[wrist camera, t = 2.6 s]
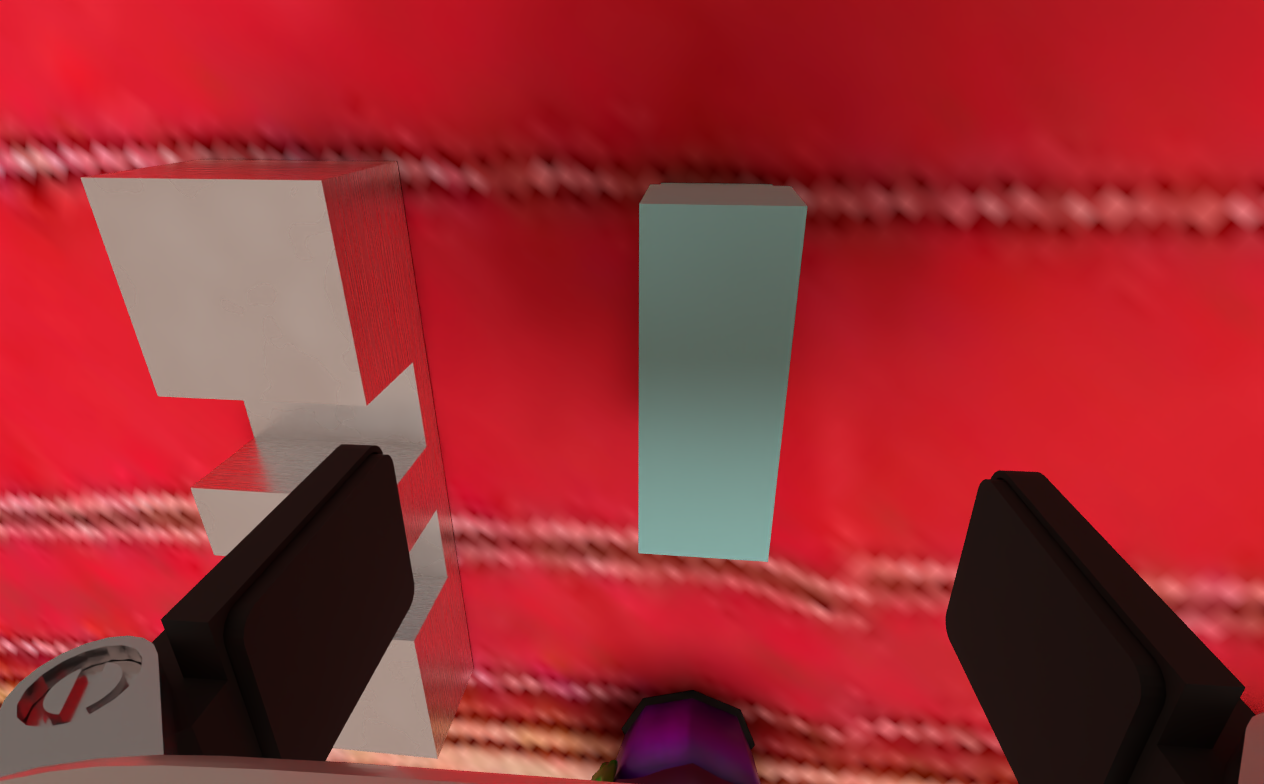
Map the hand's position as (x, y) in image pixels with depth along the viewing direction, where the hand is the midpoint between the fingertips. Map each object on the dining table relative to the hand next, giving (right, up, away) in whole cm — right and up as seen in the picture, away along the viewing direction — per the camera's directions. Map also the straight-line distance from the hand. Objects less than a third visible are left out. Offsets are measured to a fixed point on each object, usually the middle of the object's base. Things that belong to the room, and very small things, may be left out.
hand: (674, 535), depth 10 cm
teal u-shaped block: (+2, +5, +9) cm, 10 cm away
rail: (-10, 0, +12) cm, 16 cm away
